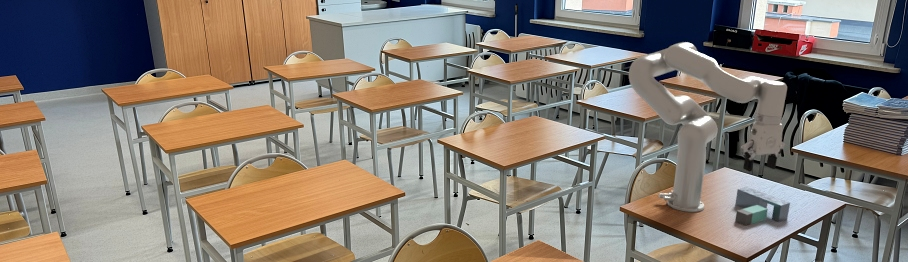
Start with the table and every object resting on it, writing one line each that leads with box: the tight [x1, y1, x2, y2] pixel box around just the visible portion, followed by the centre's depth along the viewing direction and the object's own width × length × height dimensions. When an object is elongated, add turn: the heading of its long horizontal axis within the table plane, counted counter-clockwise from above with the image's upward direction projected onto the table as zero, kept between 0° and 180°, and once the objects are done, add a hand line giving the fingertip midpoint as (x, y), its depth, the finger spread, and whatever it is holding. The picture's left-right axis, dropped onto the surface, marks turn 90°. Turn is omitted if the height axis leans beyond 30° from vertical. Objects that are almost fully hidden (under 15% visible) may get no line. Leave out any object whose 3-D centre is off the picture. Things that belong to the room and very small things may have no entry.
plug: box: [734, 205, 769, 227], centre depth 221 cm, size 11×4×4 cm, turn 120°
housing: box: [734, 186, 791, 223], centre depth 228 cm, size 5×17×6 cm, turn 30°
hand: (759, 168), depth 214 cm, fingers open, 9 cm apart
